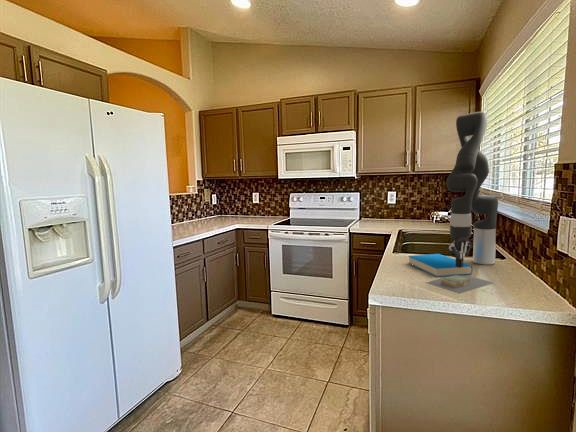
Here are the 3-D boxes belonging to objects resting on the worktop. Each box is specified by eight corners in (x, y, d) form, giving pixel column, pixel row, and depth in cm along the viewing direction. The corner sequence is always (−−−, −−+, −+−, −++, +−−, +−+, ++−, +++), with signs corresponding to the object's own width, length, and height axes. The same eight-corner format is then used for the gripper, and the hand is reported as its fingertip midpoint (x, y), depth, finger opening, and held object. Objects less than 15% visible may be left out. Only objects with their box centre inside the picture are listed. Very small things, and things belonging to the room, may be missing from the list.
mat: (459, 274, 144) (459, 273, 144) (494, 284, 131) (494, 282, 131) (425, 284, 134) (425, 282, 134) (459, 295, 121) (459, 293, 121)
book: (436, 268, 140) (407, 255, 165) (436, 277, 141) (407, 263, 165) (473, 265, 142) (439, 252, 167) (473, 274, 143) (439, 261, 167)
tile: (455, 274, 136) (441, 278, 132) (469, 278, 131) (455, 282, 126) (455, 279, 136) (441, 283, 132) (469, 283, 131) (454, 288, 127)
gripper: (462, 222, 136) (461, 262, 138) (441, 225, 130) (440, 267, 132) (480, 224, 129) (478, 266, 131) (458, 227, 123) (457, 272, 125)
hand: (459, 267), depth 131 cm, fingers closed
